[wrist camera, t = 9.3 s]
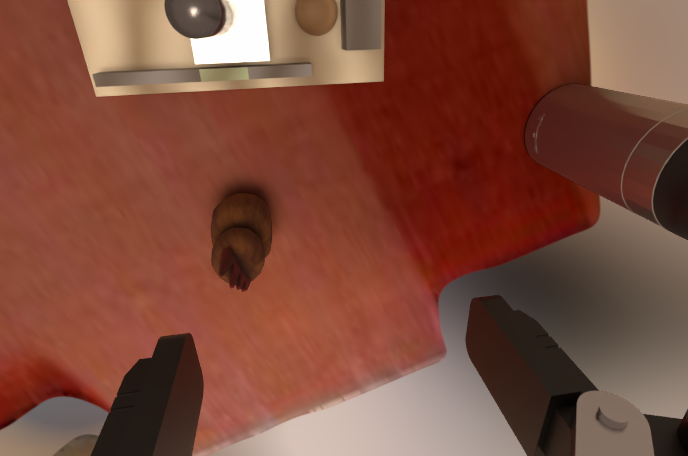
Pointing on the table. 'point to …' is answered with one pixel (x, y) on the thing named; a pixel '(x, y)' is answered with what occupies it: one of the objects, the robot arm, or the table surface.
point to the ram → (222, 29)
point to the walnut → (316, 15)
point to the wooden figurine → (240, 238)
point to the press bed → (185, 76)
